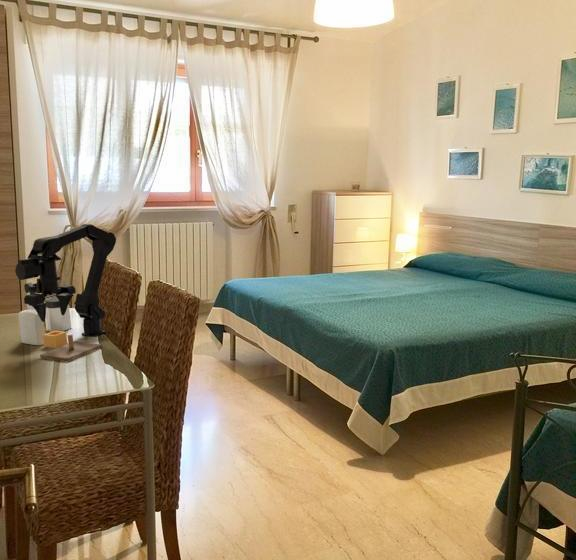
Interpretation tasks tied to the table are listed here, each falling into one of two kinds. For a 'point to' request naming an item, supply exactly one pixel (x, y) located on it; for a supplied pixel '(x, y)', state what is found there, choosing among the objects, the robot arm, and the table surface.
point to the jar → (56, 316)
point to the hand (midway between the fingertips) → (53, 318)
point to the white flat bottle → (31, 327)
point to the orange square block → (55, 339)
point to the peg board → (71, 350)
